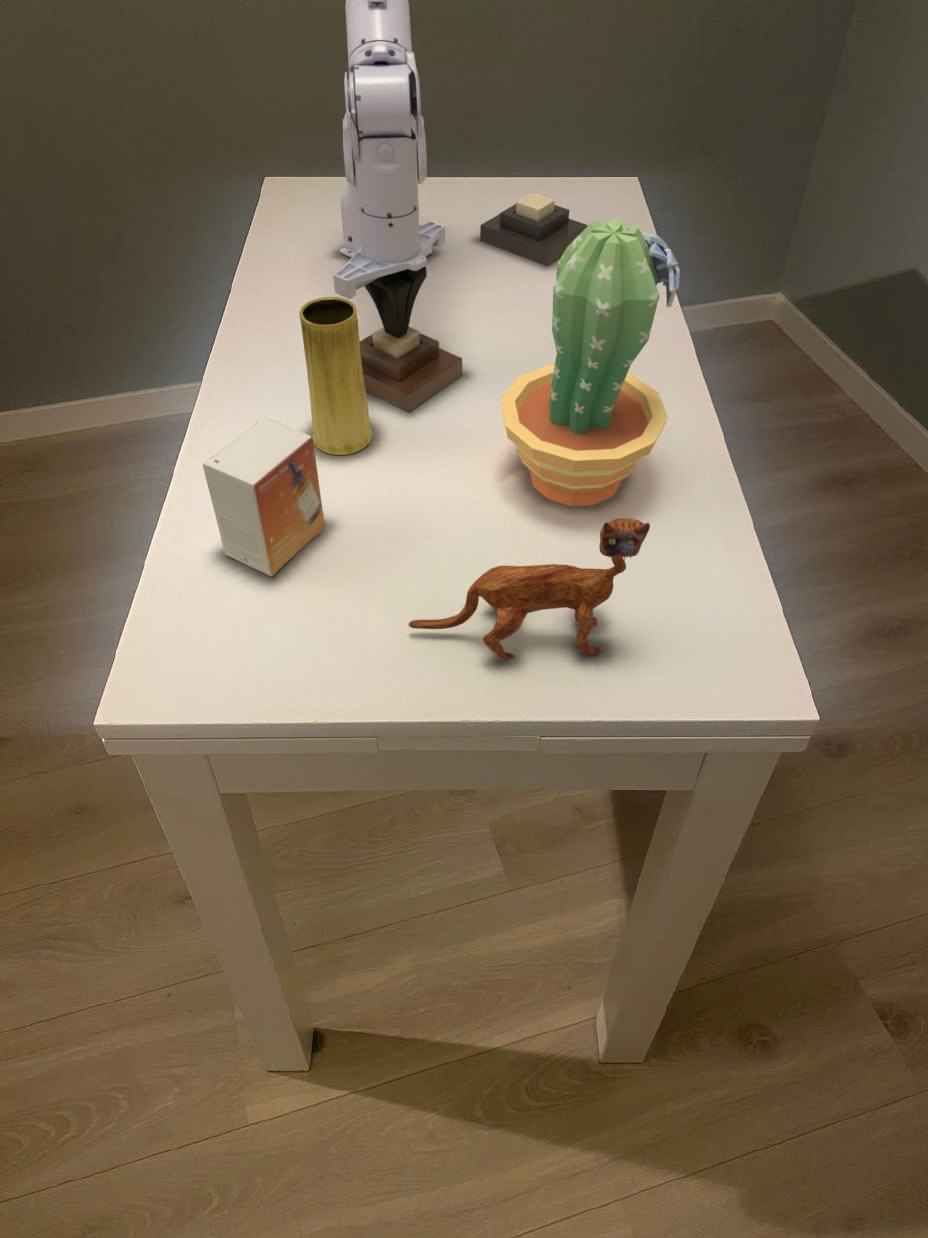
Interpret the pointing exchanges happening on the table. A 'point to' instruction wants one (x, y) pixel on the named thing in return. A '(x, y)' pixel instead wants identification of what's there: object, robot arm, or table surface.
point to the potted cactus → (594, 368)
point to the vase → (335, 376)
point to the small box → (266, 495)
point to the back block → (532, 234)
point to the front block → (408, 372)
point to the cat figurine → (549, 589)
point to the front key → (396, 342)
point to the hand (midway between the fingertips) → (395, 332)
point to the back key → (535, 207)
